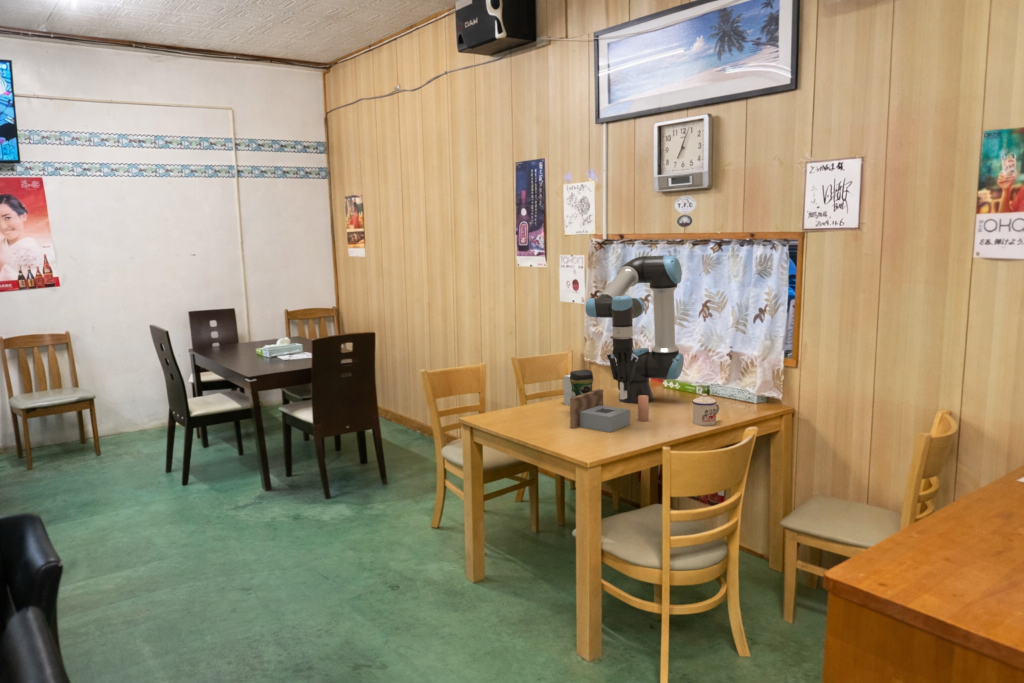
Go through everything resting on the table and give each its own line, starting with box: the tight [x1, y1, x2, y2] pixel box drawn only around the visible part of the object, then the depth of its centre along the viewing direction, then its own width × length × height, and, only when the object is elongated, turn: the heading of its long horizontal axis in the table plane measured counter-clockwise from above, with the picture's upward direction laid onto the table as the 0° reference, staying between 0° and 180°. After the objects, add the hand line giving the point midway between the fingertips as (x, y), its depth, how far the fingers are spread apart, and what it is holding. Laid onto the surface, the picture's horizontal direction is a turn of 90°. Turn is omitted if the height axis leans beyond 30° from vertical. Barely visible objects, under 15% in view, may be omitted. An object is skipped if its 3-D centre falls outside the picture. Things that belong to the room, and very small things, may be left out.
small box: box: [562, 374, 572, 407], centre depth 319 cm, size 8×6×13 cm
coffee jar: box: [569, 369, 594, 398], centre depth 300 cm, size 10×8×19 cm
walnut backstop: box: [569, 388, 604, 429], centre depth 285 cm, size 20×2×12 cm, turn 139°
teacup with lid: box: [692, 393, 720, 427], centre depth 280 cm, size 12×9×12 cm
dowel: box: [637, 395, 649, 423], centre depth 287 cm, size 4×4×10 cm
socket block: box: [579, 405, 631, 433], centre depth 280 cm, size 14×14×6 cm
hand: (623, 398), depth 273 cm, fingers closed
